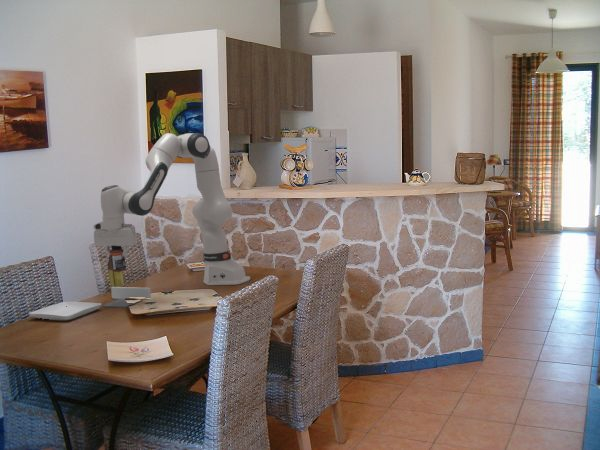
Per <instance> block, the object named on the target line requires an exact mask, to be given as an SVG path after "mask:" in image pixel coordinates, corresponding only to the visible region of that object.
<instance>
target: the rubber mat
mask: <svg viewBox="0 0 600 450" xmlns="http://www.w3.org/2000/svg"><path fill="white" fill-rule="evenodd" d="M132 304H133V303H127V302H126V301H125V299H116V300H113V301H110V302H107V303H105V304H103V305H101V307H102V308H122V309H123V308H124V309H125V308H128V307H130V306H129V305H131V306H133V305H134V304H133V305H132Z"/></svg>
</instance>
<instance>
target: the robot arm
mask: <svg viewBox="0 0 600 450" xmlns="http://www.w3.org/2000/svg"><path fill="white" fill-rule="evenodd" d="M176 158H181V159H183V158H184V159H192V161H193V163H194V171H195V180H196V188H197V190H198V191H199V193H200V194H201V197H202V199H201V200H198V201H197V202H195V203H194V204H193V206H192V210H191V211H192V215H193V217H194V218H195V219H196V222H197V225H198V227H199V230H200V233H201V238H202V245H203V246H202V247H203V254H202V255H203V263H204V275H203V281H202V282H203V284H206V286H232V285H236V286H237V285H241V284H244V283H248V281H250V280H251V276H248V275H247V276H246V272H245V268H244V266H243V265H241V264H240V263H238V262H237V261H235V260H234V259H233V258H232V256H233V252H230V251H229V250H228V243H227V242H228V241H227V234H226V233H225V231H224V230H223V228H222V224H224V223H227V222H228V221H230V220H231V218H232V217H233V208H232V206H231V205H230V203H229V202H228V200H227V198H226V196H225V193H224V191H223V188H222V182H221V175H220V173H221V172H220V167H219V166H220V165H219V161H218V157H217V153H216V151H215V149H214V148H213V147H211V145H210V142H209V139H208V138H207V136H206V135H204V134H203V133H199V132H195V133H193V132H192V133H191V132H187V133H184V134H183V133H182V134H174V133H171V132H166V133H164V134H163V135H162V136H161V137H160V138H159V139H158V140H157V141H156V142H155V144H154V145H153V146H152V147H151V149H150V151H149V152H148V153H147V156H146V158H145V165H146V167H147V169H148V170H149V171H150V175H149V176H148V178H147V180H146V181H145V183H144V185H143V187H142V188H141V189H139V190H138V191H130V190H127V189H125V188H123V187H120V186H119V185H115V184H114V185H109V186H106V187H103V188H102V190H101V191H100V208H101V210H102V220H101V221H99V222H97V223H95V224H93V229H94V231H93V241H94V245H95V246H96V247H104V250H105V252H106V253H107V257H109V256H110V251H111V250H110V249H111V246H121V247H122V249H123V250H124V251H123V252H122V256H125V257H127V256H128V251H129V248H130V247H132V246H137V245H138V237H137V236H138V235H137V232H136V227H135V225H133V224H132V223H125V214H130V215H136V216H142V217H143V216H147V215H148V214H150V213H151V211H152V209H153V207H154V204H155V199H156V197H157V195H158V193H159V191H160V189H161V187H162V185H163V183H164V182H165V180H166V177H167V176H168V172H169V170H170V168H171V166H172V165H173V163H174V161H175V160H176Z"/></svg>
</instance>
